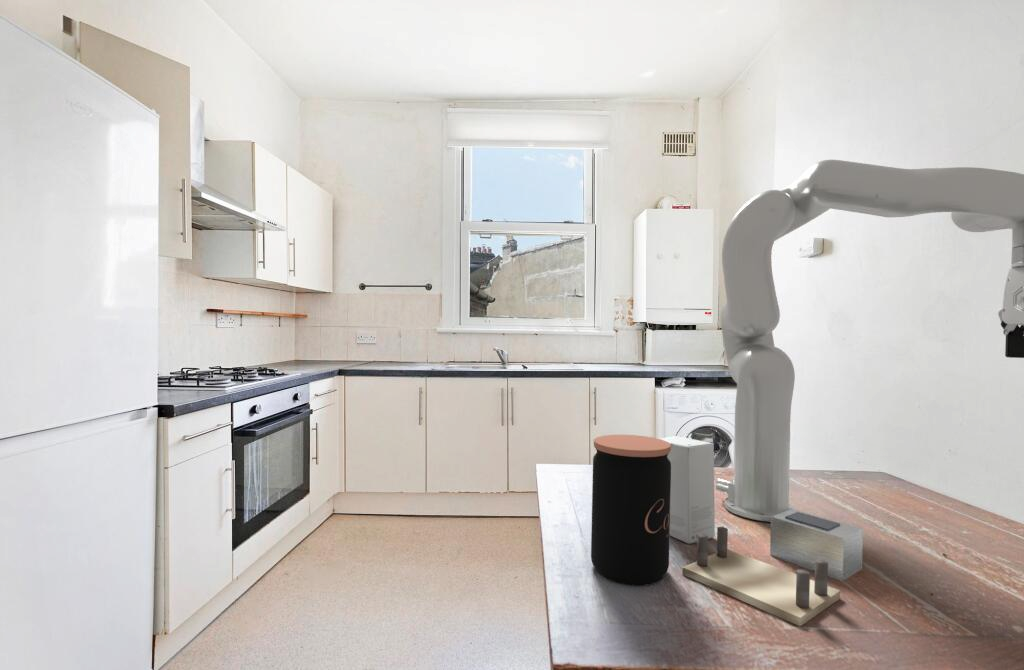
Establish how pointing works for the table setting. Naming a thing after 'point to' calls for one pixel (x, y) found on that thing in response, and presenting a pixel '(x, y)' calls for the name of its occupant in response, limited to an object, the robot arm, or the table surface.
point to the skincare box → (691, 488)
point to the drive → (817, 542)
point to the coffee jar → (631, 508)
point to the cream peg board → (762, 581)
